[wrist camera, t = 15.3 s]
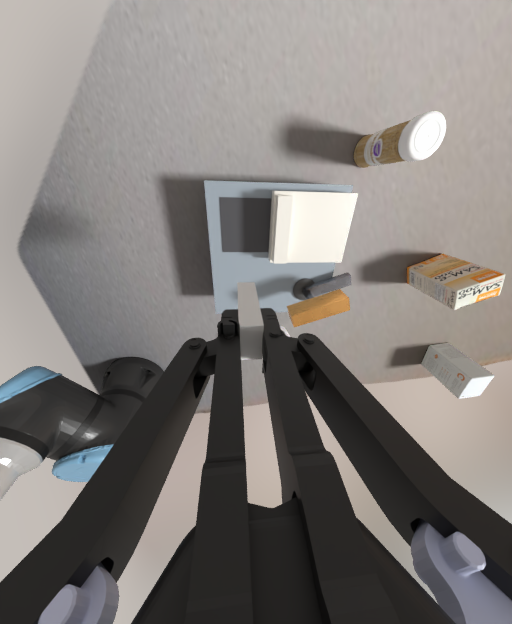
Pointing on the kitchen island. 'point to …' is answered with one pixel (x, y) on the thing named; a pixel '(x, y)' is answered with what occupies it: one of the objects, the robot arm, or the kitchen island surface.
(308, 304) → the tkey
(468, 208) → the kitchen island surface
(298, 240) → the cover
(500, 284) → the supplement box
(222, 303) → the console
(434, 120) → the sprinkles bottle
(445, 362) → the small box
